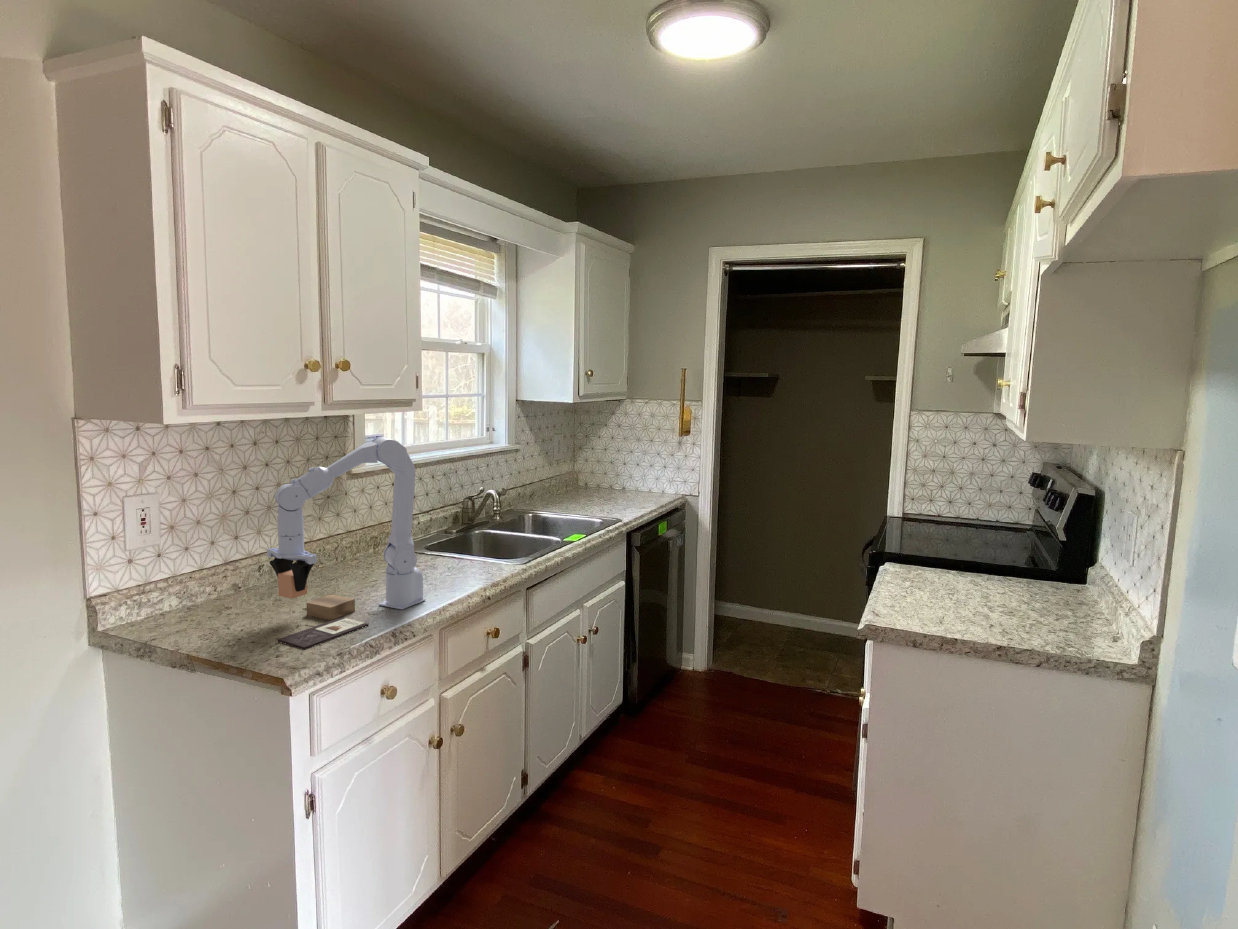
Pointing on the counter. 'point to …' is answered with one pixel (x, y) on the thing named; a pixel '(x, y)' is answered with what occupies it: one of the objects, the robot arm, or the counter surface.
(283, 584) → the terracotta block
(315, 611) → the walnut base block
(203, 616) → the counter surface
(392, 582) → the robot arm
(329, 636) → the chocolate bar
